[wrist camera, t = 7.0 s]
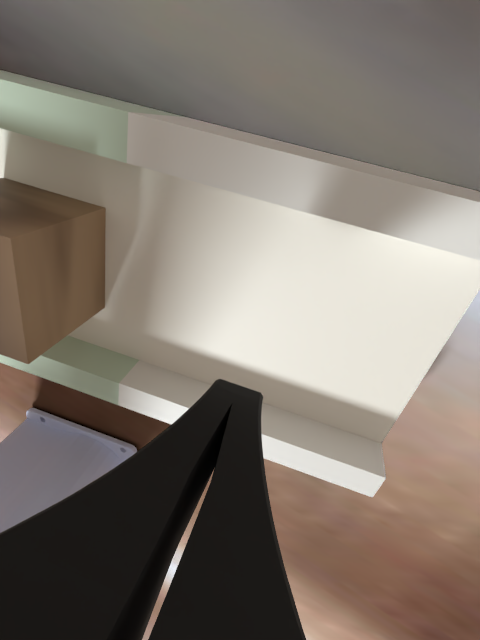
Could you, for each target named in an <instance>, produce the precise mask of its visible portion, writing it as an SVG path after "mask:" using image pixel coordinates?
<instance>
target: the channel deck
mask: <svg viewBox="0 0 480 640" xmlns="http://www.w3.org/2000/svg"><path fill="white" fill-rule="evenodd" d="M0 178H6V179H10V180H13V181H17V182H20V183H23V184H27V185H30V186H34V187H37V188H40V189H44V190H47V191H50V192H54V193H57V194H61V195H64V196H67V197H71V198H74V199H78V200H81V201H84V202H88V203H91V204H94V205H98V206H101V207H105V208H106V227H105V308H104V309H102V310H101V311H99V312H98V313H97V314H95V315H94V316H93V317H91V318H90V319H89V320H87V321H86V322H85V323H83V324H82V325H81V326H79V327H78V328H77V329H75V330H74V331H73V332H71V333H70V334H69V335H67V336H66V337H65V338H63V339H62V340H61V341H59V342H58V343H57V344H55V345H54V346H52V347H51V348H50V349H48V350H47V351H46V352H44V353H43V354H42V355H40V356H39V357H38V358H36V359H35V360H34V361H32V362H31V363H30V364H26V363H23V362H20V361H17V360H14V359H12V358H9V357H6V356H3V355H1V354H0V362H1V363H3V364H6V365H9V366H12V367H14V368H17V369H20V370H23V371H25V372H28V373H31V374H34V375H36V376H39V377H42V378H45V379H47V380H50V381H53V382H56V383H58V384H61V385H64V386H67V387H69V388H72V389H75V390H78V391H80V392H83V393H86V394H89V395H91V396H94V397H97V398H100V399H102V400H105V401H108V402H111V403H113V404H116V405H119V406H122V407H125V408H127V409H130V410H133V411H136V412H138V413H141V414H144V415H147V416H149V417H152V418H155V419H158V420H160V421H163V422H166V423H169V424H171V425H172V424H173V423H174V422H175V421H176V420H177V419H178V418H179V417H181V416H182V415H183V414H184V413H185V412H186V411H187V410H188V409H189V408H190V407H191V406H192V405H194V404H195V403H196V402H197V401H198V400H199V399H200V398H201V397H202V395H203V394H204V393H205V392H206V391H207V390H208V389H209V388H210V387H211V386H212V384H213V383H214V382H215V381H216V380H218V379H222V380H225V381H228V382H231V383H234V384H237V385H240V386H243V387H246V388H249V389H252V390H255V391H258V392H261V394H262V395H263V401H262V412H261V434H262V448H263V458H265V459H268V460H271V461H273V462H276V463H279V464H282V465H284V466H287V467H290V468H293V469H295V470H298V471H301V472H304V473H306V474H309V475H312V476H315V477H317V478H320V479H323V480H326V481H328V482H331V483H334V484H337V485H339V486H342V487H345V488H348V489H350V490H353V491H356V492H359V493H361V494H364V495H367V496H370V497H373V496H374V495H375V493H376V492H377V490H378V489H379V487H380V486H381V485H382V483H383V482H384V480H385V479H386V474H385V466H384V458H383V451H382V442H383V440H384V439H385V437H386V436H387V434H388V433H389V431H390V429H391V428H392V426H393V425H394V423H395V422H396V420H397V418H398V417H399V415H400V414H401V412H402V411H403V409H404V407H405V406H406V404H407V403H408V401H409V400H410V398H411V396H412V395H413V393H414V392H415V390H416V389H417V387H418V385H419V384H420V382H421V381H422V379H423V378H424V376H425V374H426V373H427V371H428V370H429V368H430V367H431V365H432V363H433V362H434V360H435V359H436V357H437V356H438V354H439V353H440V351H441V349H442V348H443V346H444V345H445V343H446V342H447V340H448V338H449V337H450V335H451V334H452V332H453V331H454V329H455V327H456V326H457V324H458V323H459V321H460V320H461V318H462V316H463V315H464V313H465V312H466V310H467V309H468V307H469V305H470V304H471V302H472V301H473V299H474V298H475V296H476V294H477V293H478V291H479V290H480V191H476V190H472V189H468V188H464V187H460V186H456V185H452V184H448V183H444V182H440V181H436V180H433V179H429V178H425V177H421V176H417V175H413V174H409V173H405V172H401V171H397V170H393V169H389V168H385V167H381V166H377V165H373V164H369V163H366V162H362V161H358V160H354V159H350V158H346V157H342V156H338V155H334V154H330V153H326V152H322V151H318V150H314V149H310V148H306V147H302V146H299V145H295V144H291V143H287V142H283V141H279V140H275V139H271V138H267V137H263V136H259V135H255V134H251V133H247V132H243V131H239V130H235V129H232V128H228V127H224V126H220V125H216V124H212V123H208V122H204V121H200V120H196V119H192V118H188V117H184V116H180V115H176V114H172V113H168V112H165V111H161V110H157V109H153V108H149V107H145V106H141V105H137V104H133V103H129V102H125V101H121V100H117V99H113V98H109V97H105V96H101V95H98V94H94V93H90V92H86V91H82V90H78V89H74V88H70V87H66V86H62V85H58V84H54V83H50V82H46V81H42V80H38V79H34V78H30V77H27V76H23V75H19V74H15V73H11V72H7V71H3V70H0Z"/></svg>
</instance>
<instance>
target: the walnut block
mask: <svg viewBox="0 0 480 640" xmlns="http://www.w3.org/2000/svg"><path fill="white" fill-rule="evenodd" d="M105 227H106V208H105V207H101V206H98V205H94V204H91V203H88V202H84V201H81V200H78V199H74V198H71V197H67V196H64V195H61V194H57V193H54V192H50V191H47V190H44V189H40V188H37V187H34V186H30V185H27V184H23V183H20V182H17V181H13V180H10V179H6V178H0V354H1V355H3V356H6V357H9V358H12V359H14V360H17V361H20V362H23V363H26V364H30V363H31V362H32V361H34V360H35V359H36V358H38V357H39V356H40V355H42V354H43V353H44V352H46V351H47V350H48V349H50V348H51V347H52V346H54V345H55V344H57V343H58V342H59V341H61V340H62V339H63V338H65V337H66V336H67V335H69V334H70V333H71V332H73V331H74V330H75V329H77V328H78V327H79V326H81V325H82V324H83V323H85V322H86V321H87V320H89V319H90V318H91V317H93V316H94V315H95V314H97V313H98V312H99V311H101V310H102V309H104V308H105Z"/></svg>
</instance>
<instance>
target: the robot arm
mask: <svg viewBox="0 0 480 640" xmlns="http://www.w3.org/2000/svg"><path fill="white" fill-rule="evenodd" d="M262 401H263V395H262V394H261V392H258V391H255V390H252V389H249V388H246V387H243V386H240V385H237V384H234V383H231V382H228V381H225V380H222V379H218V380H216V381H215V382H214V383H213V384H212V386H211V387H210V388H209V389H208V390H207V391H206V392H205V393H204V394H203V395H202V397H201V398H200V399H199V400H198V401H197V402H196V403H195V404H194V405H192V406H191V407H190V408H189V409H188V410H187V411H186V412H185V413H184V414H183V415H182V416H181V417H179V418H178V419H177V420H176V421H175V422H174V423H173V424H172V425H170V426H169V427H168V428H167V429H166V430H164V431H163V432H162V433H161V434H159V435H158V436H157V437H156V438H154V439H153V440H152V441H151V442H149V443H148V444H147V445H146V446H144V447H143V448H142V449H140V450H139V451H138V452H137V449H136V447H135V446H134V445H132V444H129V443H126V442H124V441H121V440H118V439H116V438H113V437H110V436H108V435H105V434H102V433H100V432H97V431H94V430H92V429H89V428H86V427H84V426H81V425H78V424H76V423H73V422H70V421H68V420H65V419H62V418H60V417H57V416H54V415H52V414H49V413H46V412H44V411H41V410H38V409H36V408H30V409H29V410H28V411H27V412H26V414H27V419H26V420H25V421H24V422H23V423H22V424H21V425H19V426H18V427H17V428H16V429H15V430H14V431H13V432H12V433H11V434H10V435H9V436H7V437H6V438H5V439H4V440H3V441H2V442H1V443H0V640H142V638H143V635H144V632H145V630H146V627H147V624H148V622H149V619H150V616H151V614H152V611H153V608H154V606H155V603H156V600H157V598H158V595H159V592H160V590H161V587H162V585H163V582H164V579H165V577H166V574H167V571H168V569H169V566H170V563H171V561H172V558H173V556H174V554H175V551H176V549H177V547H178V544H179V542H180V540H181V538H182V536H183V534H184V531H185V529H186V527H187V525H188V523H189V521H190V519H191V517H192V514H193V512H194V510H195V508H196V506H197V504H198V502H199V500H200V498H201V495H202V493H203V491H204V489H205V487H206V485H207V483H208V481H209V478H210V476H211V474H212V472H213V470H214V472H213V476H212V480H211V483H210V486H209V488H208V491H207V493H206V496H205V498H204V501H203V504H202V506H201V509H200V511H199V514H198V517H197V519H196V522H195V524H194V527H193V529H192V532H191V534H190V537H189V540H188V542H187V545H186V547H185V550H184V552H183V555H182V557H181V560H180V562H179V565H178V567H177V570H176V572H175V575H174V577H173V580H172V582H171V585H170V587H169V590H168V592H167V595H166V597H165V600H164V602H163V605H162V607H161V610H160V612H159V615H158V617H157V620H156V622H155V625H154V627H153V630H152V632H151V635H150V637H149V639H148V640H306V638H305V635H304V632H303V629H302V625H301V622H300V619H299V615H298V612H297V609H296V605H295V602H294V598H293V595H292V592H291V588H290V585H289V582H288V578H287V575H286V571H285V568H284V564H283V560H282V556H281V552H280V548H279V544H278V540H277V535H276V531H275V526H274V522H273V517H272V512H271V507H270V501H269V496H268V489H267V483H266V476H265V468H264V459H263V448H262V434H261V412H262ZM214 468H215V469H214Z"/></svg>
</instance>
